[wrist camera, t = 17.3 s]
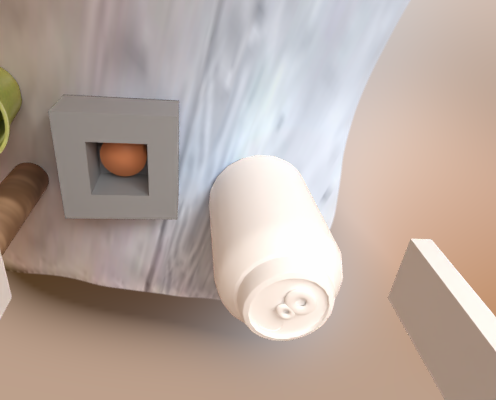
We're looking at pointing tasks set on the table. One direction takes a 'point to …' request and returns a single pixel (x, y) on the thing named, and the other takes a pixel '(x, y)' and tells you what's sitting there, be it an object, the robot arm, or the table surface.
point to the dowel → (19, 199)
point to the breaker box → (116, 131)
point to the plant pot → (7, 105)
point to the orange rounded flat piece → (123, 158)
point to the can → (272, 249)
